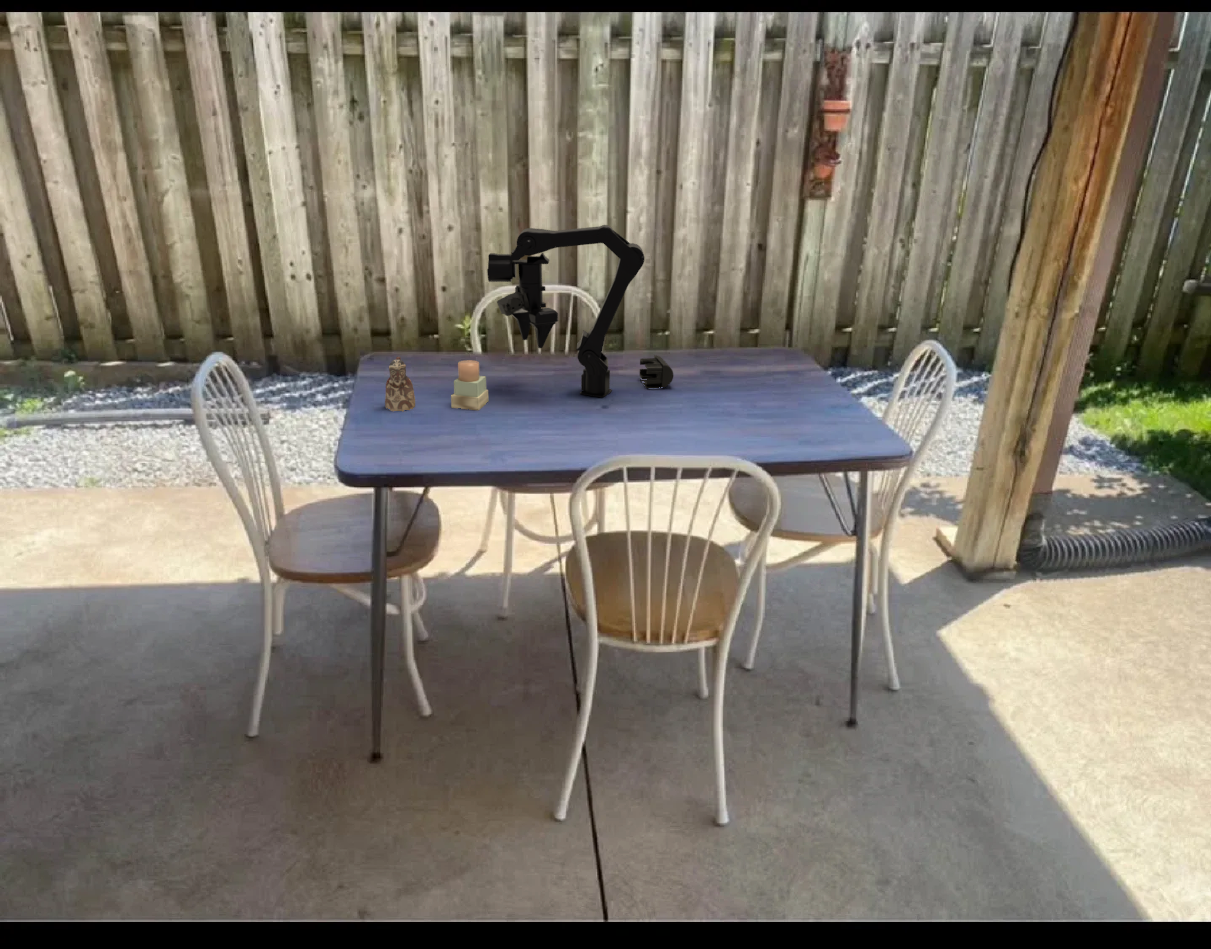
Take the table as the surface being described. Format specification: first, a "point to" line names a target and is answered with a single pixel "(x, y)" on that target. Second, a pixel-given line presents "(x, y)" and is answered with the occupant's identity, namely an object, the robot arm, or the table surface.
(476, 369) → the orange-brown short cylinder
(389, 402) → the figurine
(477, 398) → the base block
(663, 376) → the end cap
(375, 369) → the table surface
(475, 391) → the top block
